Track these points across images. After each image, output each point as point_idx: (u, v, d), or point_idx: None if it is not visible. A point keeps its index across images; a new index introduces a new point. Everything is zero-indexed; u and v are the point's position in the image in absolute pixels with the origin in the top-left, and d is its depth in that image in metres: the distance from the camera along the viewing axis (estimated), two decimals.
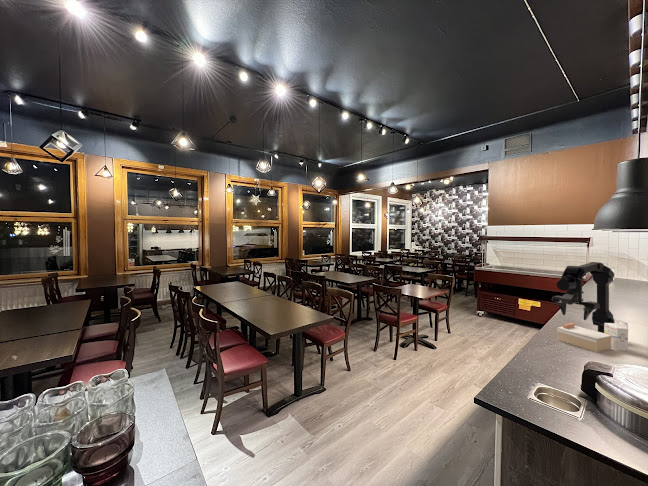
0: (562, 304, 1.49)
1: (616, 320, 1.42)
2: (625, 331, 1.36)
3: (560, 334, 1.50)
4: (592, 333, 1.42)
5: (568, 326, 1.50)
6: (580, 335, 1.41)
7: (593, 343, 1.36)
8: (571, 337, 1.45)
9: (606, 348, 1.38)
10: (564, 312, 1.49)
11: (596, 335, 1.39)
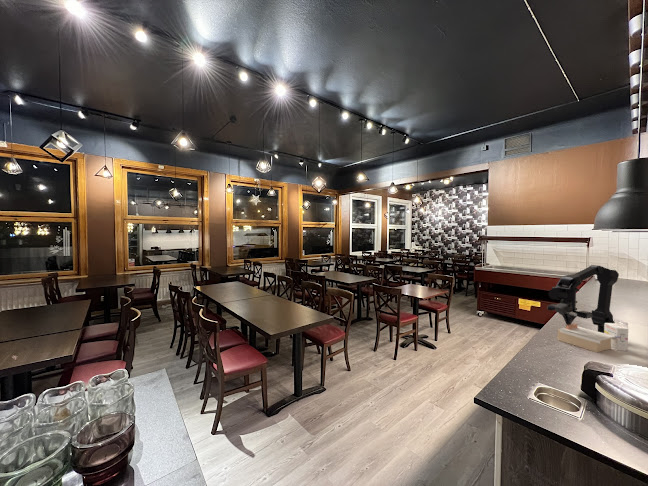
0: (566, 315, 1.51)
1: (616, 320, 1.42)
2: (626, 331, 1.36)
3: (560, 334, 1.50)
4: (595, 334, 1.40)
5: (571, 327, 1.49)
6: (583, 336, 1.39)
7: (593, 343, 1.36)
8: (571, 337, 1.45)
9: (606, 348, 1.38)
10: None
11: (599, 336, 1.38)
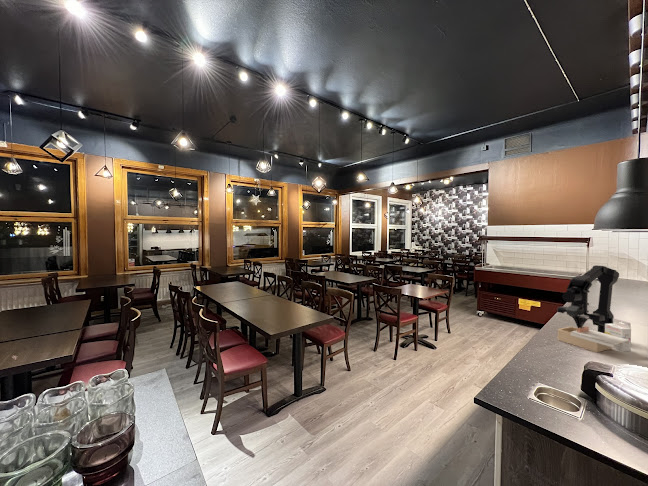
0: (577, 317, 1.47)
1: (615, 320, 1.42)
2: (629, 331, 1.35)
3: (560, 334, 1.50)
4: (608, 337, 1.36)
5: (582, 330, 1.44)
6: (596, 339, 1.34)
7: (593, 343, 1.36)
8: (571, 337, 1.45)
9: (606, 348, 1.38)
10: None
11: (613, 340, 1.33)
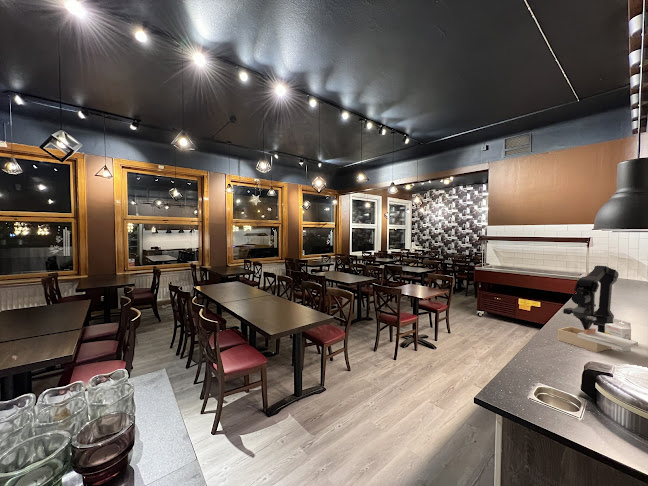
0: (584, 319, 1.44)
1: (615, 320, 1.42)
2: (629, 331, 1.35)
3: (560, 334, 1.50)
4: (616, 339, 1.33)
5: (589, 332, 1.41)
6: (603, 342, 1.32)
7: (593, 343, 1.36)
8: (571, 337, 1.45)
9: (606, 348, 1.38)
10: None
11: (621, 342, 1.30)
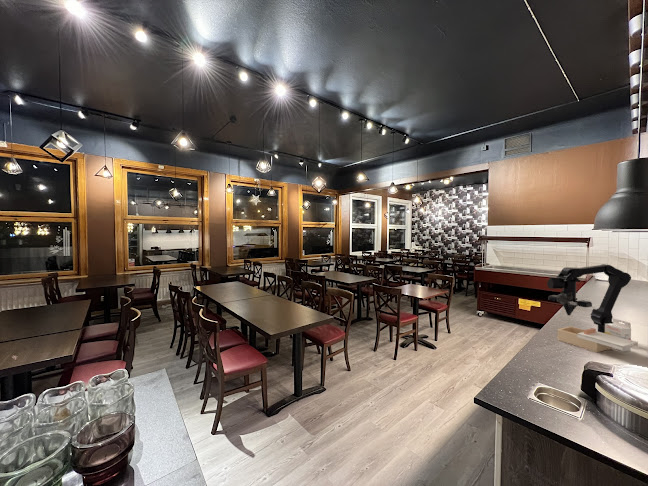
0: (566, 305, 1.57)
1: (615, 320, 1.42)
2: (629, 331, 1.35)
3: (560, 334, 1.50)
4: (616, 340, 1.33)
5: (589, 332, 1.41)
6: (604, 342, 1.32)
7: (593, 343, 1.36)
8: (571, 337, 1.45)
9: (606, 348, 1.38)
10: None
11: (621, 342, 1.30)
